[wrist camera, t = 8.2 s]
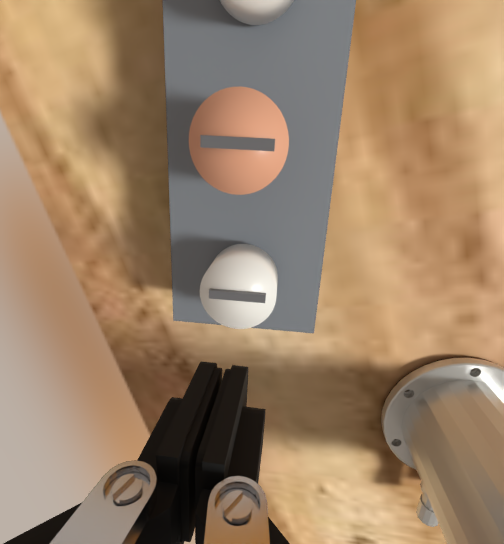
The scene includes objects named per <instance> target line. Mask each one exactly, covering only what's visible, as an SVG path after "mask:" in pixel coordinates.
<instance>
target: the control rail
mask: <svg viewBox="0 0 504 544" xmlns="http://www.w3.org/2000/svg"><path fill="white" fill-rule="evenodd" d="M355 4H356V0H294V1H293V2H292V4H291V6H290V7H289V8H288V9H287V11H286V12H284V13H283V14H282V15H281V16H280V17H279V18H277V19H275V20H274V21H272V22H269V23H267V24H262V25H249V24H245V23H243V22H240V21H238V20H237V19H235V18H234V17H232V16H231V15H230V14H229V13H228V12H227V11H226V10H225V8H224V7H223V5H222V4H221V2H220V0H163V25H164V54H165V84H166V114H167V143H168V173H169V203H170V233H171V262H172V292H173V320H174V321H184V322H195V323H206V324H217V325H221V324H220V323H218V322H216V321H215V320H214V319H213V318H211V317H210V316H209V314H208V313H207V312H206V310H205V309H204V307H203V305H202V302H201V298H200V284H201V281H202V278H203V276H204V274H205V273H206V271H207V270H208V268H209V267H210V265H211V264H212V262H213V261H214V259H215V258H216V257H217V255H218V254H219V253H220V252H221V251H223V250H224V249H225V248H227V247H229V246H232V245H236V244H250V245H254V246H256V247H259V248H261V249H262V250H264V251H265V252H266V253H267V254H268V255H269V256H270V257H271V258H272V260H273V261H274V263H275V265H276V268H277V273H278V282H277V296H276V303H275V306H274V309H273V311H272V312H271V314H270V315H269V316H268V318H267V319H266V320H264V321H263V322H262V323H260V324H258V325H256V326H254V327H251V328H261V329H272V330H283V331H294V332H305V333H314V327H315V319H316V312H317V304H318V296H319V288H320V280H321V272H322V264H323V256H324V249H325V241H326V233H327V225H328V217H329V209H330V201H331V193H332V185H333V178H334V170H335V162H336V154H337V146H338V138H339V130H340V122H341V115H342V107H343V99H344V91H345V83H346V75H347V67H348V59H349V51H350V44H351V36H352V28H353V20H354V12H355ZM239 86H240V87H248V88H252V89H255V90H257V91H259V92H261V93H263V94H265V95H266V96H267V97H269V98H270V99H271V100H272V101H273V102H274V103H275V104H276V105H277V107H278V108H279V110H280V111H281V113H282V115H283V117H284V119H285V122H286V124H287V129H288V134H289V148H288V154H287V158H286V161H285V163H284V166H283V168H282V169H281V171H280V173H279V174H278V175H277V177H276V178H275V179H274V180H273V181H272V182H271V183H270V184H269V185H267V186H266V187H264V188H263V189H261V190H259V191H257V192H254V193H250V194H244V195H234V194H229V193H225V192H222V191H220V190H218V189H216V188H214V187H213V186H211V185H210V184H209V183H207V182H206V181H205V180H204V179H203V178H202V176H201V175H200V174H199V172H198V171H197V169H196V167H195V165H194V163H193V161H192V158H191V155H190V149H189V131H190V126H191V122H192V119H193V117H194V115H195V113H196V111H197V110H198V108H199V107H200V105H201V104H202V103H203V102H204V101H205V100H206V99H207V98H208V97H209V96H211V95H212V94H214V93H216V92H217V91H219V90H222V89H225V88H229V87H239Z"/></svg>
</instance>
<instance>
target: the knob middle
mask: <svg viewBox="0 0 504 544" xmlns="http://www.w3.org/2000/svg"><path fill="white" fill-rule="evenodd" d="M288 148H289V134H288V129H287V124H286V122H285V119H284V117H283V115H282V113H281V111H280V110H279V108H278V107H277V105H276V104H275V103H274V102H273V101H272V100H271V99H270V98H269V97H267V96H266V95H265V94H263V93H261V92H259V91H257V90H255V89H252V88H248V87H240V86H239V87H229V88H225V89H222V90H219V91H217V92H216V93H214V94H212V95H211V96H209V97H208V98H207V99H206V100H205V101H204V102H203V103H202V104H201V105H200V107H199V108H198V110H197V111H196V113H195V115H194V117H193V119H192V122H191V126H190V131H189V149H190V155H191V158H192V161H193V163H194V165H195V167H196V169H197V171H198V172H199V174H200V175H201V176H202V178H203V179H204V180H205V181H206V182H207V183H209V184H210V185H211V186H213V187H214V188H216V189H218V190H220V191H222V192H225V193H229V194H234V195H244V194H250V193H254V192H257V191H259V190H261V189H263V188H264V187H266V186H267V185H269V184H270V183H271V182H272V181H273V180H274V179H275V178H276V177H277V175H278V174H279V173H280V171H281V169H282V168H283V166H284V163H285V161H286V158H287V154H288Z"/></svg>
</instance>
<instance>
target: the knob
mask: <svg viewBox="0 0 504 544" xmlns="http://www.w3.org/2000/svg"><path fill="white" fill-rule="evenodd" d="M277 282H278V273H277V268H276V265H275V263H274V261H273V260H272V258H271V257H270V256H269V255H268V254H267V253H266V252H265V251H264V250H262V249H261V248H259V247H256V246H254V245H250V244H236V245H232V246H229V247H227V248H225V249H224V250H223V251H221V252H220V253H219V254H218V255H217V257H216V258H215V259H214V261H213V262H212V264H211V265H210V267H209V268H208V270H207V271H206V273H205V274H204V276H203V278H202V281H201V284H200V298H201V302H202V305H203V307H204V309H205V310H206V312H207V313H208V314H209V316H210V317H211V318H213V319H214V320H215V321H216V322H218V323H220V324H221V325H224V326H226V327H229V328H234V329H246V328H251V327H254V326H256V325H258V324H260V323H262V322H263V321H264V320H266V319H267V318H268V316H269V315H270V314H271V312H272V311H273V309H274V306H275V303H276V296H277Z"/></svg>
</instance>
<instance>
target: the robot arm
mask: <svg viewBox="0 0 504 544" xmlns="http://www.w3.org/2000/svg"><path fill="white" fill-rule="evenodd" d="M247 385H248V367H243V366H235V365H233V366H232V368H231V369H226V370H225V373H224V376H223V379H222V368H217V364H216V363H209V362H200V364H199V366H198V368H197V370H196V372H195V374H194V376H193V378H192V380H191V383H190V385H189V387H188V389H187V391H186V393H185V395H184V397H183V399H181V398H173V397H172V398H171V399H170V400H169V402H168V404H167V406H166V407H165V409H164V411H163V413H162V415H161V417H160V419H159V421H158V422H157V424H156V426H155V428H154V430H153V432H152V434H151V436H150V438H149V440H148V441H147V443H146V445H145V447H144V449H143V451H142V453H141V455H140V457H139V458H138V460H137V461H127V462H124V463H121V464H118V465H117V466H115V467H113V468H112V469H110V470H109V471H108V472H107V473H106V474H105V475H104V476H103V477H102V478H101V480H100V481H99V482H98V484H97V485H96V486H95V487H94V489H93V490H92V491H91V492H90V493H89V495H88V496H87V497H86V499H85V500H84V501H83V502H82V503H80V504H78V505H76V506H75V507H73V508H71V509H69V510H67V511H65V512H63V513H61V514H59V515H57V516H55V517H53V518H51V519H49V520H48V521H46V522H44V523H42V524H40V525H38V526H36V527H34V528H32V529H30V530H28V531H26V532H24V533H23V534H21V535H19V536H17V537H15V538H13V539H11V540H9V541H7V542H6V543H4V544H184V541H186V542H190V541H191V539H192V536H193V532H194V529H195V540H196V544H289V542H288V541H287V540H286V539H285V537H284V536H283V535H282V533H281V532H280V531H279V530H278V528H277V527H276V526H275V525H274V523H273V522H272V521H271V520H270V518H269V517H268V509H267V500H266V496H265V493H264V491H263V490H262V488H261V487H260V486H259V485H258V479H259V471H260V462H261V454H262V445H263V434H264V422H265V409H258V408H251V407H246V403H247ZM381 423H382V430H383V433H384V436H385V439H386V442H387V444H388V445H389V447H390V449H391V451H392V452H393V453H394V454H395V455H396V456H397V458H398V459H399V460H401V461H402V462H403V463H405V464H406V465H408V466H409V467H411V468H413V469H415V470H417V472H418V474H419V477H420V479H421V484H420V486H421V490H422V492H423V494H422V495H421V497H420V500H419V503H418V507H417V511H416V513H417V516H418V518H419V519H420V520H421V521H422V522H423V523H424V524H426V525H428V526H432V527H434V526H437V525H438V523H439V525H440V528H441V530H442V533H443V535H444V537H445V540H446V542H447V544H504V367H502V366H500V365H498V364H496V363H492V362H489V361H486V360H482V359H475V358H451V359H445V360H440V361H436V362H433V363H430V364H427V365H424V366H422V367H420V368H418V369H417V370H415V371H413V372H411V373H410V374H408V375H407V376H406V377H404V378H403V379H402V380H400V381H399V383H398V384H397V385H396V386H395V387H394V388H393V389H392V390H391V392H390V394H389V395H388V397H387V398H386V400H385V403H384V406H383V409H382V416H381Z"/></svg>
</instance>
